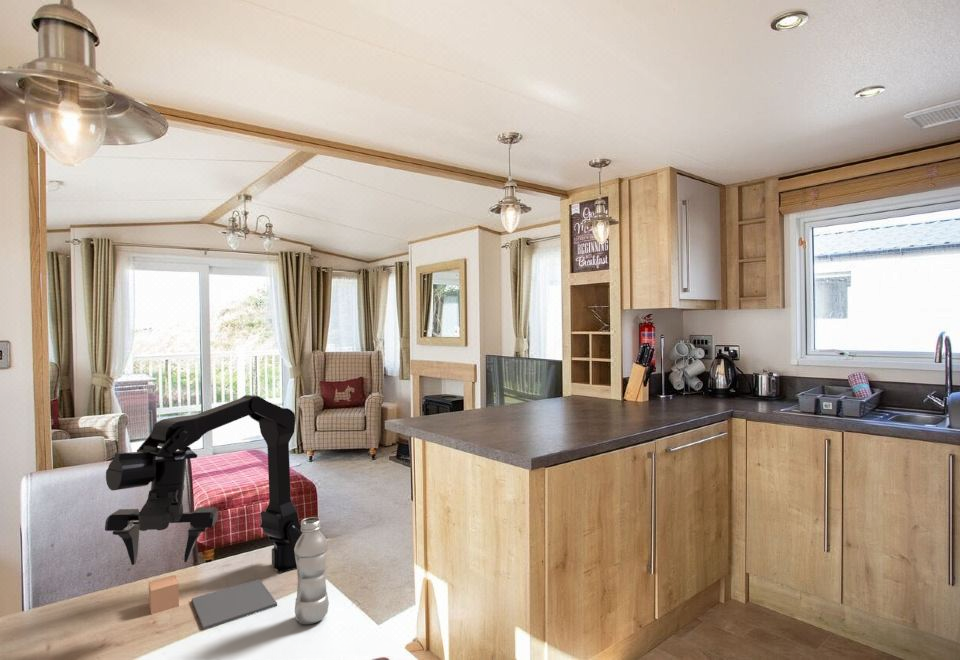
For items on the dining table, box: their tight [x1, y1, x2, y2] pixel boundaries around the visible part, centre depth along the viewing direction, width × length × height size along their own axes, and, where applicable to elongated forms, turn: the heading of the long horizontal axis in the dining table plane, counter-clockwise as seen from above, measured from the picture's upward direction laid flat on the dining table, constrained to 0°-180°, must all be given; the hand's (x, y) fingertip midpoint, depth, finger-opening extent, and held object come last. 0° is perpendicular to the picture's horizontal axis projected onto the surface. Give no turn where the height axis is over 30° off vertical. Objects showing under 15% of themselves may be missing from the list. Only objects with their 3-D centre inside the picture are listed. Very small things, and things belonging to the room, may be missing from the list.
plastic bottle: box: [294, 516, 330, 625], centre depth 105 cm, size 6×7×20 cm
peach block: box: [148, 574, 180, 615], centre depth 111 cm, size 5×5×5 cm
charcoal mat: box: [191, 578, 278, 631], centre depth 111 cm, size 14×14×1 cm
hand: (160, 563), depth 103 cm, fingers open, 9 cm apart
